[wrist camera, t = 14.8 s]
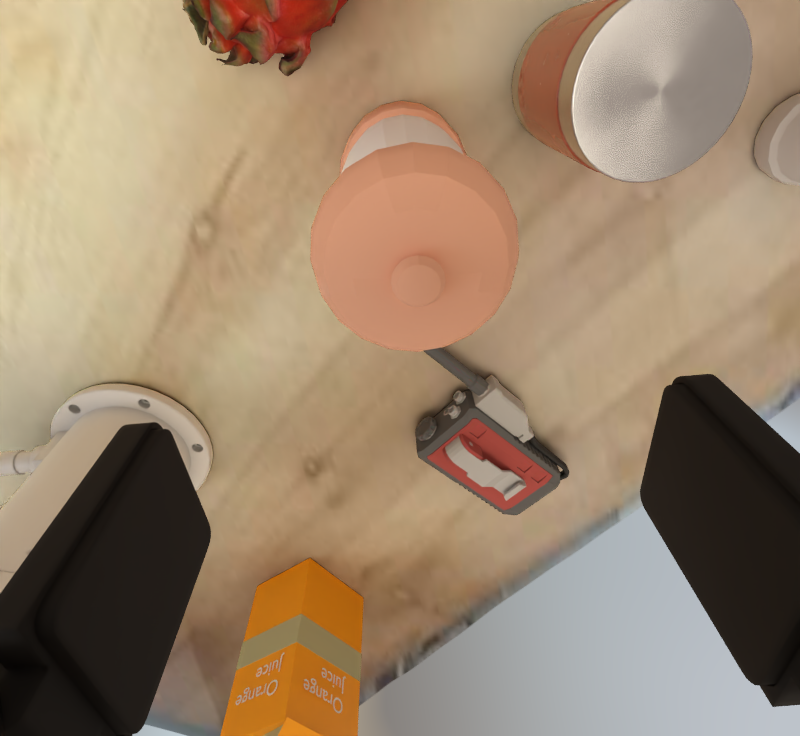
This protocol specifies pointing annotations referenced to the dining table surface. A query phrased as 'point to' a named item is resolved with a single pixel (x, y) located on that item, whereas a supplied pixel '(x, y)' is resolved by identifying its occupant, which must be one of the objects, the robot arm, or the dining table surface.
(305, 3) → the dragon fruit
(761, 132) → the bottle
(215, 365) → the dining table surface
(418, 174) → the salt shaker
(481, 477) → the walkie-talkie
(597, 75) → the tin can
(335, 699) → the orange juice
